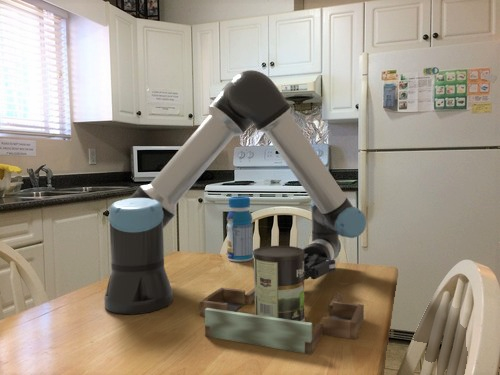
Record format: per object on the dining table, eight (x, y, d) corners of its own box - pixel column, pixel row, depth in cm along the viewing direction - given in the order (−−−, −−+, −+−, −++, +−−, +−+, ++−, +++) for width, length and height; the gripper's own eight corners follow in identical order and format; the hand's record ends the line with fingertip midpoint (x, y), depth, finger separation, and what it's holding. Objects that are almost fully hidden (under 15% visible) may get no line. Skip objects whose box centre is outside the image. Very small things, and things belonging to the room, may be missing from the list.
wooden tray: (177, 331, 81) (176, 305, 80) (236, 289, 105) (235, 270, 105) (347, 360, 68) (347, 330, 68) (368, 306, 92) (369, 283, 92)
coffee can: (306, 311, 90) (306, 245, 89) (303, 330, 80) (302, 257, 79) (258, 308, 92) (257, 244, 91) (249, 327, 82) (248, 255, 81)
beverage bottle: (244, 263, 130) (243, 199, 129) (221, 260, 135) (220, 198, 133) (258, 257, 138) (257, 196, 136) (236, 255, 142) (235, 195, 141)
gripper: (341, 272, 109) (320, 302, 88) (293, 268, 114) (262, 295, 93) (341, 244, 109) (320, 266, 87) (293, 240, 114) (261, 261, 92)
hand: (290, 281), depth 90 cm, fingers closed
